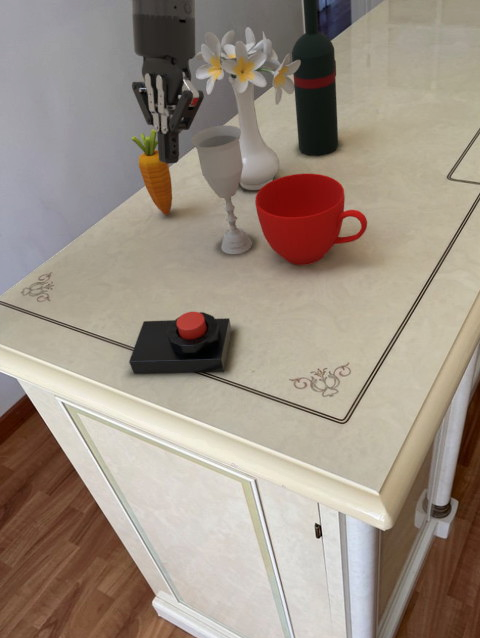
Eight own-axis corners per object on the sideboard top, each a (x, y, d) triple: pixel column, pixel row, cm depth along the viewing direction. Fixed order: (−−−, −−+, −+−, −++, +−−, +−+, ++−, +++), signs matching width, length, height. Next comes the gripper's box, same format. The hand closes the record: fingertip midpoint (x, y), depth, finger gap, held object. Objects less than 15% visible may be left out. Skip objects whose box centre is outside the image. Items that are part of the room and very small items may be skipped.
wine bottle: (350, 137, 119) (346, -40, 98) (326, 158, 114) (317, -24, 93) (316, 132, 123) (306, -40, 102) (291, 153, 117) (275, -25, 96)
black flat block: (133, 373, 76) (124, 351, 74) (147, 333, 82) (139, 310, 79) (224, 371, 75) (218, 348, 72) (232, 330, 80) (227, 307, 78)
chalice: (241, 228, 99) (222, 121, 86) (267, 242, 95) (251, 132, 82) (206, 247, 96) (181, 139, 83) (231, 263, 92) (210, 152, 79)
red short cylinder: (176, 340, 75) (173, 330, 73) (182, 322, 77) (179, 311, 76) (204, 339, 74) (201, 329, 73) (208, 321, 77) (206, 310, 75)
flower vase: (291, 205, 102) (276, 49, 85) (201, 193, 109) (169, 46, 92) (319, 171, 110) (310, 21, 93) (233, 161, 117) (210, 20, 99)
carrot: (149, 221, 104) (124, 138, 93) (159, 207, 107) (136, 124, 96) (175, 222, 103) (152, 138, 92) (184, 208, 106) (164, 124, 95)
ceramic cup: (348, 291, 84) (346, 230, 77) (248, 267, 91) (238, 208, 84) (383, 244, 91) (384, 184, 84) (288, 224, 98) (282, 167, 91)
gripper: (107, 9, 73) (118, 156, 81) (170, 11, 65) (175, 174, 73) (158, 14, 77) (163, 152, 86) (222, 16, 70) (221, 168, 78)
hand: (168, 162), depth 80 cm, fingers closed
